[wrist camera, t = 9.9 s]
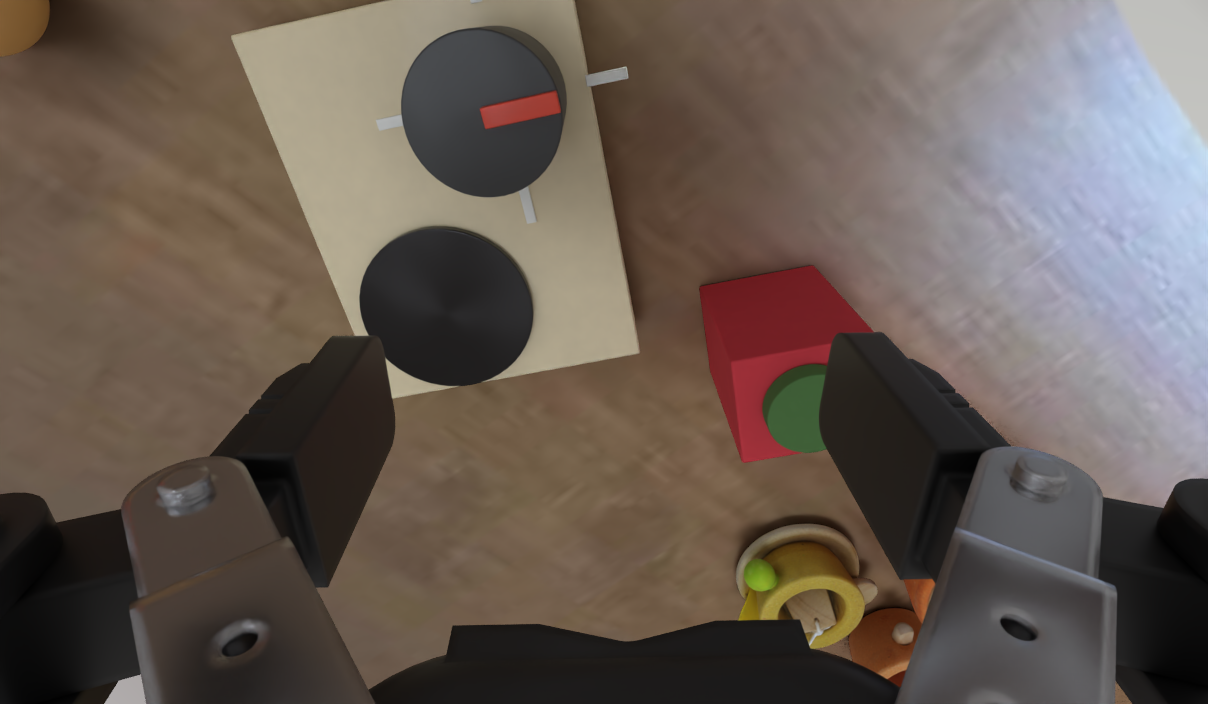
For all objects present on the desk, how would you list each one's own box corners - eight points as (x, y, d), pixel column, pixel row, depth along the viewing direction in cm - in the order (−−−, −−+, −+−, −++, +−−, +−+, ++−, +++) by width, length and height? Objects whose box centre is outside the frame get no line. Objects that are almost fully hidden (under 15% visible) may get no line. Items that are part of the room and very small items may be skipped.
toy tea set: (691, 560, 36) (724, 732, 27) (929, 382, 31) (1061, 523, 22) (949, 748, 44) (1036, 923, 36) (1168, 633, 40) (1328, 804, 31)
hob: (260, 8, 23) (214, 7, 20) (600, -69, 22) (602, -81, 19) (399, 366, 30) (380, 403, 27) (664, 317, 29) (672, 350, 26)
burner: (335, 244, 24) (331, 247, 24) (509, 209, 23) (508, 212, 23) (395, 394, 27) (393, 399, 27) (550, 366, 26) (550, 370, 26)
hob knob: (457, 177, 23) (428, 214, 19) (416, 42, 21) (372, 49, 17) (579, 151, 23) (578, 183, 18) (549, 11, 21) (539, 10, 16)
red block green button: (698, 286, 28) (735, 373, 21) (813, 264, 28) (888, 346, 21) (710, 372, 30) (747, 477, 23) (817, 352, 30) (887, 454, 23)
